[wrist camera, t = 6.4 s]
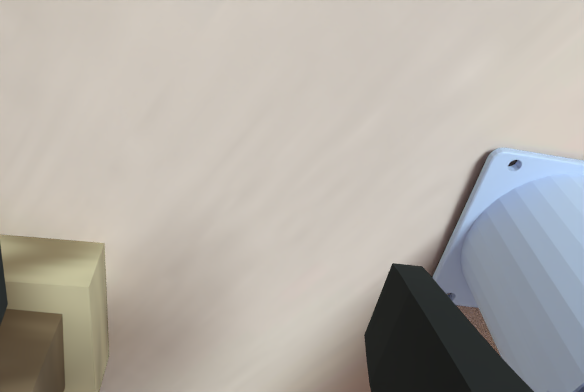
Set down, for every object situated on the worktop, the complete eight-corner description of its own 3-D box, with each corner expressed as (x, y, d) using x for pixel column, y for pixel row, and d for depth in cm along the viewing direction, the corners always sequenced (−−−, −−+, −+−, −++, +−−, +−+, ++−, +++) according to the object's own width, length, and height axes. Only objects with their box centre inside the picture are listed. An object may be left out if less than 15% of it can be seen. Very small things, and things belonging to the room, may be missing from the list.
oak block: (106, 237, 23) (88, 287, 21) (110, 348, 27) (96, 401, 25) (-73, 222, 22) (-114, 272, 20) (-42, 339, 26) (-73, 394, 24)
